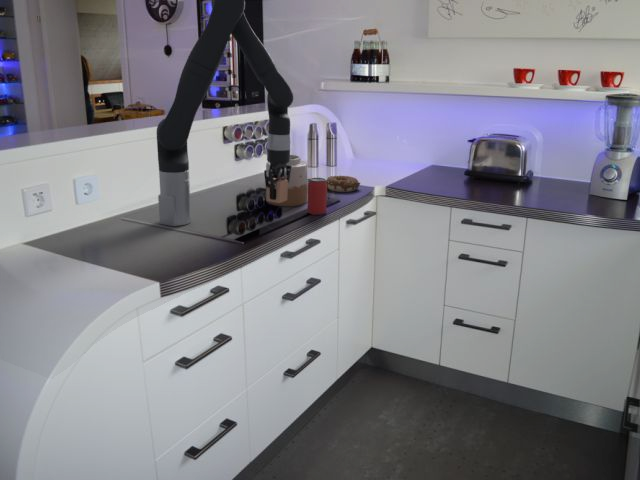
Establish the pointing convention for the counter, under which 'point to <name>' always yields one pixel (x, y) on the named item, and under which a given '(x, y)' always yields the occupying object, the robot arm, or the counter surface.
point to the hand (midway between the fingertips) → (277, 197)
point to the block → (279, 191)
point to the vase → (295, 183)
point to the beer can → (317, 196)
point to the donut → (342, 183)
